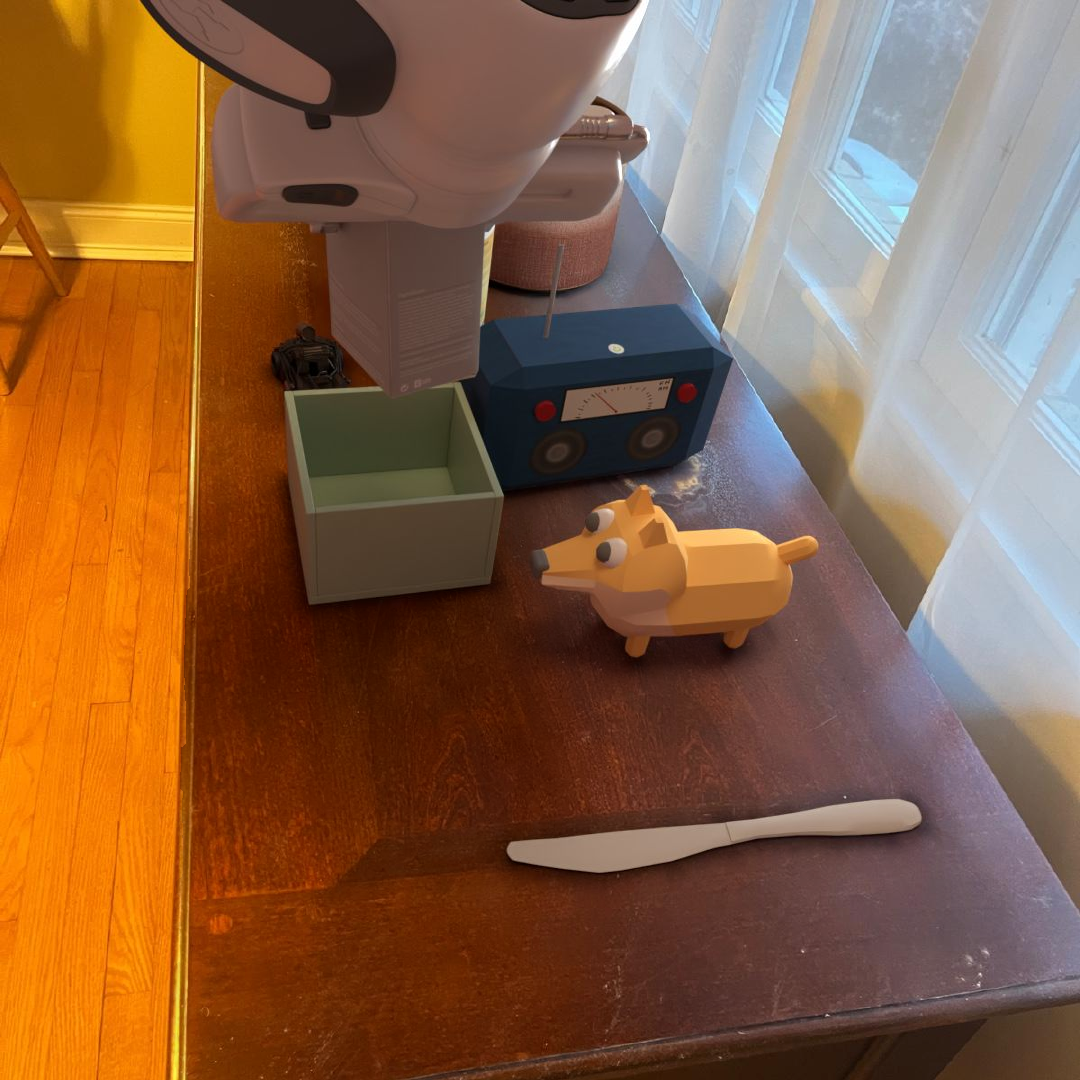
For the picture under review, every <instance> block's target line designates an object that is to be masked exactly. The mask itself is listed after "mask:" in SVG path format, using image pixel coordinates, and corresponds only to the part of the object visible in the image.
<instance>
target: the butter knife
mask: <svg viewBox="0 0 1080 1080" xmlns="http://www.w3.org/2000/svg"><path fill="white" fill-rule="evenodd" d="M922 820H923V817H922V814H921V811H920V809H919V807H918V806H917V805H916V804H915V803H913V802H910V801H907V800H904V799H899V798H887V799H871V800H864V801H855V802H849V803H848V802H846V803H839V804H833V805H832V804H831V805H827V806H822V807H817V808H813V809H808V810H802V811H797V812H792V813H785V814H779V815H773V816H772V815H771V816H767V817H760V818H759V817H758V818H754V819H744V820H735V821H726V822H717V823H706V824H692V825H678V826H663V827H654V828H644V829H643V828H641V829H631V830H630V829H629V830H617V831H609V832H608V831H607V832H600V833H592V834H582V835H573V836H566V837H564V836H563V837H556V838H540V839H527V840H516V841H515V840H514V841H510V842H509V844H508V846H507V848H506V850H505V851H506V853H507V856H508V857H509V858H510V859H511V860H512V861H515V862H519V863H525V864H529V865H530V864H531V865H535V866H536V865H537V866H542V867H549V868H554V869H555V868H557V869H563V870H571V871H581V872H587V873H589V872H590V873H599V874H601V873H609V872H619V871H624V870H625V871H626V870H631V869H635V868H641V867H647V866H652V865H658V864H663V863H668V862H673V861H676V860H680V859H683V858H686V857H689V856H692V855H696V854H698V853H703V852H705V851H707V850H711V849H715V848H719V847H725V846H730V845H734V844H738V843H743V842H747V841H753V840H756V839H765V838H778V837H793V836H862V835H877V834H878V835H879V834H890V833H897V832H906V831H910V830H913V829H914V828H917V826H919V825H921V823H922Z"/></svg>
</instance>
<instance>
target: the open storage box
mask: <svg viewBox="0 0 1080 1080" xmlns="http://www.w3.org/2000/svg"><path fill="white" fill-rule="evenodd" d="M283 397H284V417H285V419H284V420H285V421H284V422H285V440H286V442H285V443H286V457H287V458H286V462H287V464H286V465H287V479H288V480H287V482H288V488H289V495H290V499H291V507H292V512H293V518H294V524H295V531H296V537H297V542H298V548H299V555H300V560H301V567H302V571H303V579H304V585H305V590H306V596H307V602H308V605H309V606H311V605H320V604H329V603H338V602H346V601H355V600H364V599H373V598H381V597H390V596H391V597H392V596H398V595H399V596H400V595H408V594H416V593H423V592H424V593H425V592H431V591H432V592H433V591H441V590H442V591H443V590H451V589H458V588H459V589H460V588H467V587H476V586H484V585H486V586H487V585H490V584H491V580H492V575H493V568H494V562H495V556H496V550H497V543H498V537H499V530H500V524H501V517H502V511H503V504H504V500H505V499H504V498H505V494H504V493H503V491H502V490H501V488H500V485H499V482H498V480H497V477H496V474H495V472H494V469H493V467H492V464H491V461H490V459H489V456H488V453H487V451H486V448H485V446H484V443H483V440H482V438H481V435H480V432H479V430H478V427H477V425H476V422H475V419H474V417H473V414H472V411H471V409H470V406H469V404H468V401H467V398H466V396H465V393H464V390H463V388H462V385H461V383H460V382H458V381H455V382H451V383H447V384H443V385H439V386H435V387H431V388H428V389H425V390H422V391H418V392H415V393H412V394H408V395H405V396H401V397H397V398H390V397H389V396H388V395H387V394H386V393H385V392H384V391H383V390H382V388H381V387H380V386H379V385H377V386H361V387H350V388H339V389H320V390H300V391H293V392H292V391H286V390H285V391H284V392H283Z"/></svg>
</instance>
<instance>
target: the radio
mask: <svg viewBox="0 0 1080 1080" xmlns="http://www.w3.org/2000/svg"><path fill="white" fill-rule="evenodd" d="M563 248H564V245H559V246H558V252H557V258H556V264H555V270H554V276H553V282H552V287H551V292H549V293H550V294H549V299H548V306H547V312H546V314H540V315H539V314H537V315H528V316H516V317H515V316H514V317H505V318H504V317H503V318H494V319H491V320H489V321H488V322H486V323H484V325H483V326H481V327H480V343H479V364H478V372H477V373H476V376H475V377H473V378H468V379H463V380H458V381H457V382H460V383H461V385H462V388H463V390H464V393H465V396H466V398H467V401H468V404H469V406H470V409H471V411H472V414H473V417H474V419H475V422H476V425H477V427H478V430H479V432H480V435H481V438H482V440H483V443H484V446H485V448H486V451H487V453H488V456H489V459H490V461H491V464H492V467H493V469H494V472H495V474H496V477H497V480H498V482H499V485H500V488H501V490H502V492H508V491H515V490H522V489H529V488H534V487H542V486H548V485H555V484H561V483H568V482H575V481H580V480H587V479H594V478H601V477H609V476H613V475H614V476H615V475H620V474H627V473H634V472H640V471H645V470H652V469H653V470H654V469H659V468H666V467H673V466H677V465H680V464H681V463H682V462H684V461H686V460H688V459H689V458H691V457H693V456H695V455H696V454H698V453H700V452H702V451H703V450H704V449H705V445H706V443H707V438H708V436H709V432H710V431H711V428H712V424H713V422H714V418H715V415H716V412H717V409H718V406H719V403H720V400H721V397H722V394H723V391H724V388H725V385H726V382H727V379H728V376H729V374H730V373H729V372H730V370H731V367H732V364H733V361H734V358H733V356H732V355H731V354H730V353H729V352H728V350H726V348H725V347H724V346H723V344H721V342H720V341H719V340H718V338H716V336H715V335H714V334H713V333H712V332H711V331H710V330H709V329H708V327H707V326H706V325H705V324H704V322H703V321H702V320H701V319H700V317H698V316H697V314H695V313H693V312H692V311H690V310H688V309H686V308H685V307H683V306H681V305H679V304H678V303H667V304H656V305H642V306H633V307H632V306H631V307H622V308H621V307H620V308H609V309H597V310H586V311H585V310H584V311H575V312H564V313H563V312H562V313H553V310H554V304H555V300H556V299H555V298H556V294H557V292H556V288H557V282H558V276H559V271H560V265H561V259H562V253H563Z"/></svg>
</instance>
